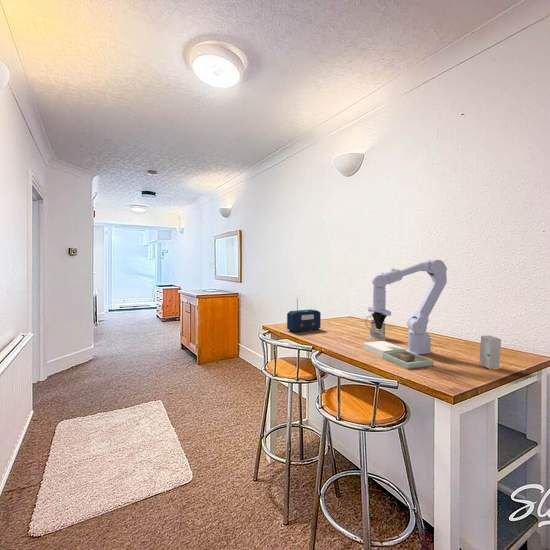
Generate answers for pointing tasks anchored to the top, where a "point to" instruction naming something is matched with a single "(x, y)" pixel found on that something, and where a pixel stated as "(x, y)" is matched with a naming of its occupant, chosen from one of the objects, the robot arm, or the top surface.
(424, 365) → the tray
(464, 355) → the top surface
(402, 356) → the walnut tile
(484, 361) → the skincare box
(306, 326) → the radio
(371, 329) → the french press
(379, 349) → the board
